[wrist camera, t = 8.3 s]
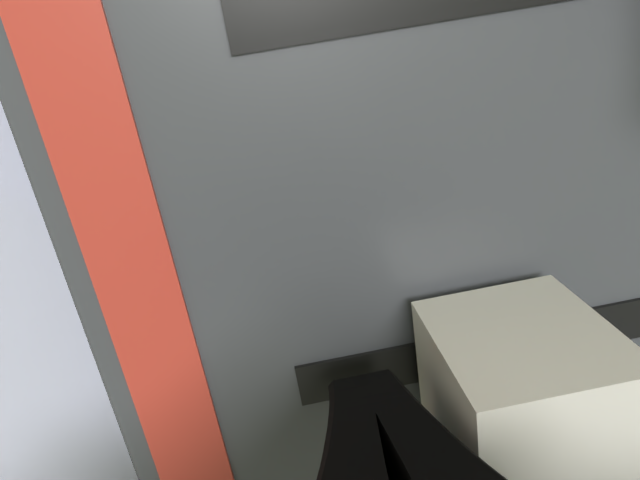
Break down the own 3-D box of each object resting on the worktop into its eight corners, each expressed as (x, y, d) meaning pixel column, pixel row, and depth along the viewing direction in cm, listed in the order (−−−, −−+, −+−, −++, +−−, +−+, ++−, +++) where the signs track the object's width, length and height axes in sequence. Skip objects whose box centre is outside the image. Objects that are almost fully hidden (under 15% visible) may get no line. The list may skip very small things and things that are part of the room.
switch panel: (772, 524, 19) (832, 581, 17) (228, 646, 18) (225, 722, 16) (952, -289, 11) (1109, -360, 9) (-38, -148, 10) (-111, -194, 8)
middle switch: (549, 409, 13) (652, 539, 9) (424, 435, 12) (484, 577, 9) (550, 274, 11) (671, 373, 8) (411, 301, 11) (476, 413, 8)
